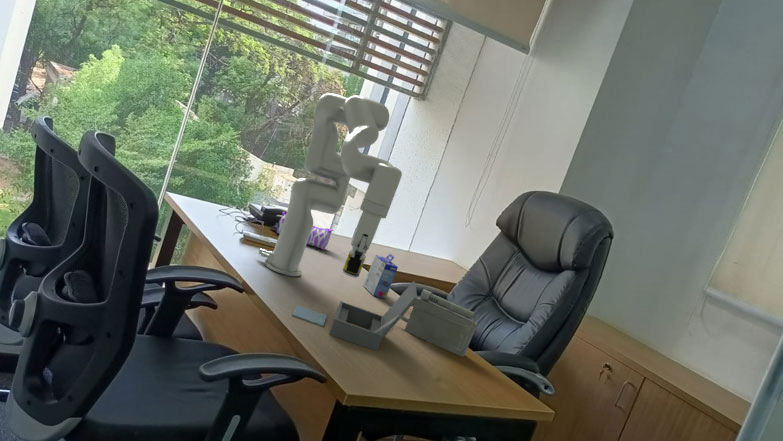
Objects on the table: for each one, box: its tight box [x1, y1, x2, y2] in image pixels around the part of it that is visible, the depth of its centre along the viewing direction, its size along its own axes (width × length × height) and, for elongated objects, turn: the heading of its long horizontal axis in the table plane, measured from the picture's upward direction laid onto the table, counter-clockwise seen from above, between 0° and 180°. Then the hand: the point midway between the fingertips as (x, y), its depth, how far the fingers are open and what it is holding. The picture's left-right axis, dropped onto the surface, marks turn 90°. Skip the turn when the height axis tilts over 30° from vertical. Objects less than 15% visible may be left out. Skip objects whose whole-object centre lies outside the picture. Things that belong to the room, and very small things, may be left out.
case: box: [329, 281, 418, 352], centre depth 186 cm, size 19×18×17 cm
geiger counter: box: [401, 288, 478, 358], centre depth 204 cm, size 14×6×25 cm
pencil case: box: [274, 211, 334, 251], centre depth 270 cm, size 22×9×9 cm, turn 86°
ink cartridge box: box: [362, 253, 398, 300], centre depth 235 cm, size 10×6×14 cm, turn 26°
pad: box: [291, 304, 327, 327], centre depth 187 cm, size 9×9×1 cm
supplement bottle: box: [342, 245, 368, 278], centre depth 185 cm, size 5×5×8 cm
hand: (352, 268), depth 185 cm, fingers closed on supplement bottle, 4 cm apart
